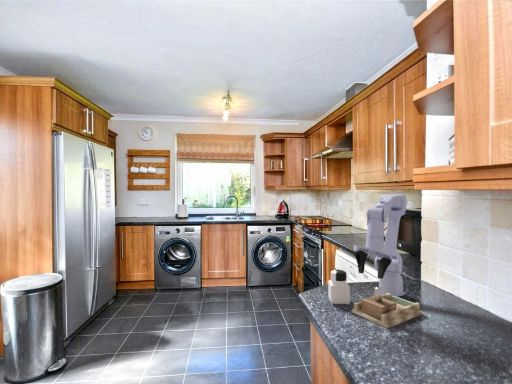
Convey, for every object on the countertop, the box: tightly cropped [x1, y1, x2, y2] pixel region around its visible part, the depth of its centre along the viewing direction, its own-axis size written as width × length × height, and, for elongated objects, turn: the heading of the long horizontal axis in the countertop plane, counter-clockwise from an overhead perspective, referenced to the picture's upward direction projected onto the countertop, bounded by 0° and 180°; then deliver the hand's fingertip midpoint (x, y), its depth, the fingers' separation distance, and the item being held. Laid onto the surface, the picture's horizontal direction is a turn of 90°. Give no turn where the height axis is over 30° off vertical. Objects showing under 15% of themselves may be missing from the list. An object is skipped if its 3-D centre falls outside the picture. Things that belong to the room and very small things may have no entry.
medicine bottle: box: [327, 269, 351, 305], centre depth 111 cm, size 7×7×12 cm
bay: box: [351, 293, 424, 329], centre depth 99 cm, size 20×14×4 cm
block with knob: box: [360, 286, 397, 319], centre depth 97 cm, size 8×8×9 cm
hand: (370, 275), depth 99 cm, fingers open, 7 cm apart
